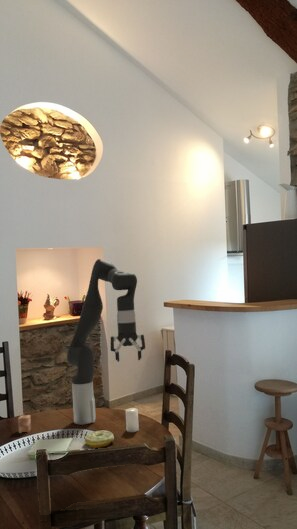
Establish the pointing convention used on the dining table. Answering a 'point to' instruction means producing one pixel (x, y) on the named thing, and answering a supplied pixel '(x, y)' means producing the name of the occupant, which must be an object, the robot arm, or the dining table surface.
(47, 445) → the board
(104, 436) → the decorated donut
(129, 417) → the white rounded cylinder
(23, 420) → the terracotta block
